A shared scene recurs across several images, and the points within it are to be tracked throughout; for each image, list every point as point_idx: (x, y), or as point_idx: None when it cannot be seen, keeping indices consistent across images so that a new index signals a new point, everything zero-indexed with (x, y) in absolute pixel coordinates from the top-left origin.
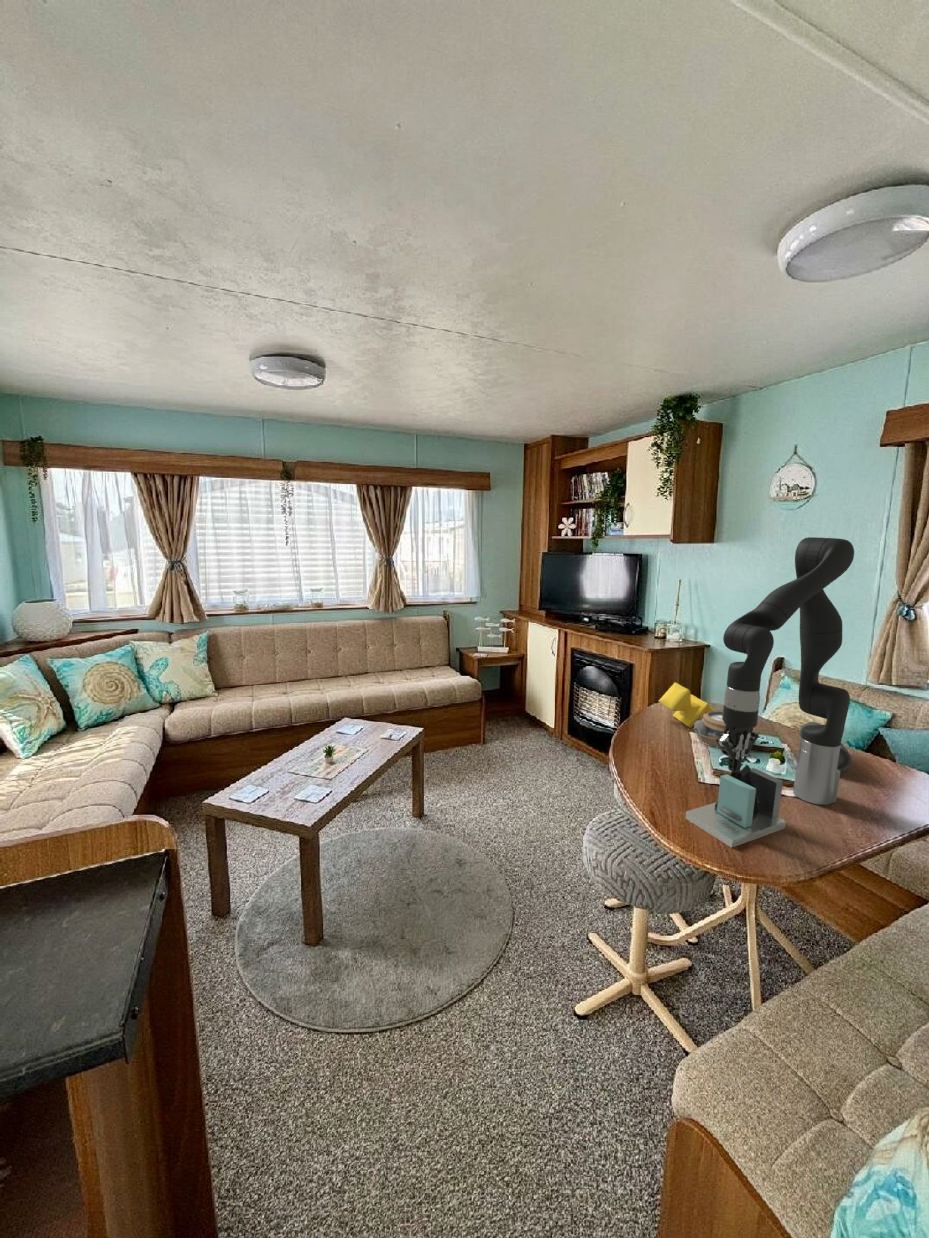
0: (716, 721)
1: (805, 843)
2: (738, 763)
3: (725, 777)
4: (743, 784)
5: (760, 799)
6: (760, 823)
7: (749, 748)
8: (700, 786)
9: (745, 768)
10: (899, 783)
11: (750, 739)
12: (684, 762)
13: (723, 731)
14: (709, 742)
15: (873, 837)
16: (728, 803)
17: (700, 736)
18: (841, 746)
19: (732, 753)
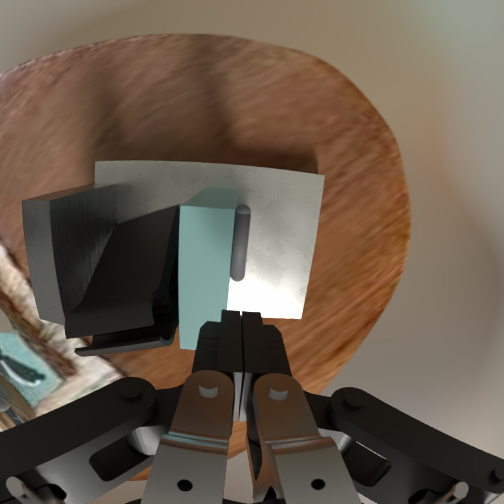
0: (4, 429)
1: (126, 98)
2: (249, 347)
3: None
4: (199, 261)
5: (99, 233)
6: (167, 184)
7: (98, 416)
8: (135, 367)
9: (94, 326)
10: None
11: (45, 481)
12: None
13: (3, 411)
14: (27, 410)
15: (11, 81)
16: (230, 265)
17: None
18: None
19: (376, 421)
